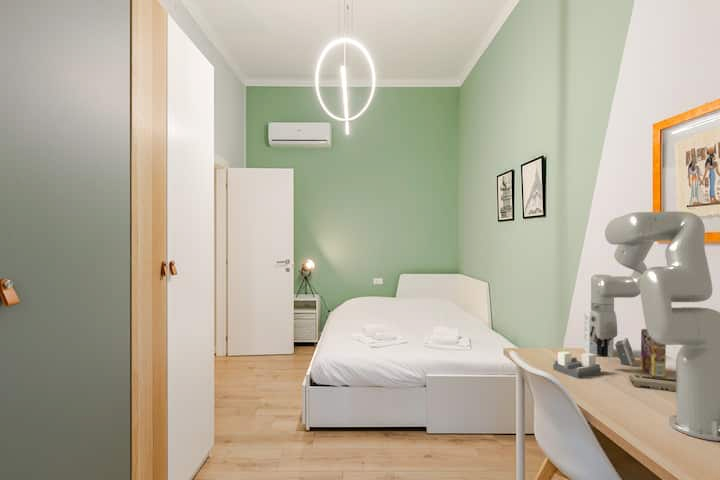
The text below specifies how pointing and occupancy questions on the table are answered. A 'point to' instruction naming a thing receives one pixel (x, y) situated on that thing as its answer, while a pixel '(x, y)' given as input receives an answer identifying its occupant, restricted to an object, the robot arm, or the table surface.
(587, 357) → the white block
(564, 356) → the tab
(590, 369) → the switch bank
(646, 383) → the computer
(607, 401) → the table surface
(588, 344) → the supplement box
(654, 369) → the candy box
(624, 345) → the electrical switch
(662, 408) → the table surface
